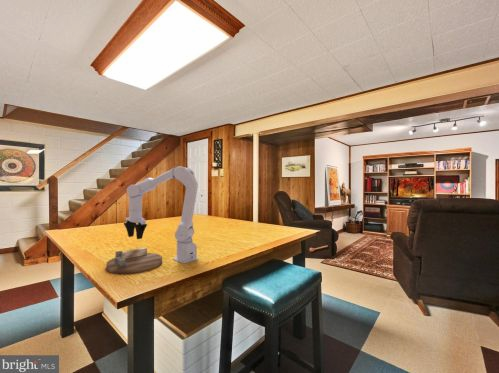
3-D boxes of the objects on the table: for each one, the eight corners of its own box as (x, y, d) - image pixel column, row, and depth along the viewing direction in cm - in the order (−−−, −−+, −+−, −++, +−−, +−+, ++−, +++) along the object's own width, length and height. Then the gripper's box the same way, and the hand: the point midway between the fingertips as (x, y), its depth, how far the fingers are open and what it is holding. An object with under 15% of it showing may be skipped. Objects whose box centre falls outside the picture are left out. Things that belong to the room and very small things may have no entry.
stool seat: (171, 264, 105) (171, 252, 105) (118, 278, 88) (119, 265, 88) (147, 254, 119) (147, 244, 119) (98, 265, 102) (98, 253, 102)
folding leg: (116, 261, 101) (116, 253, 101) (114, 259, 103) (114, 251, 103) (147, 254, 111) (147, 247, 111) (144, 253, 113) (144, 246, 113)
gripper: (151, 210, 113) (151, 238, 113) (135, 208, 121) (135, 234, 121) (137, 211, 107) (137, 241, 107) (121, 209, 116) (121, 236, 116)
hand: (135, 237), depth 114 cm, fingers open, 7 cm apart
